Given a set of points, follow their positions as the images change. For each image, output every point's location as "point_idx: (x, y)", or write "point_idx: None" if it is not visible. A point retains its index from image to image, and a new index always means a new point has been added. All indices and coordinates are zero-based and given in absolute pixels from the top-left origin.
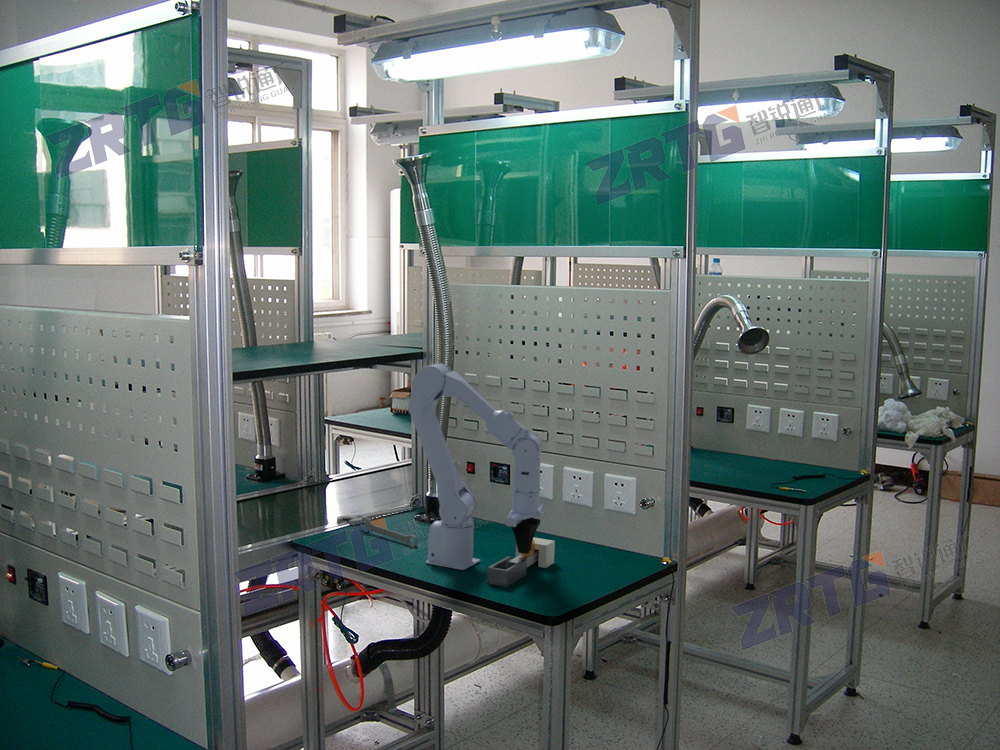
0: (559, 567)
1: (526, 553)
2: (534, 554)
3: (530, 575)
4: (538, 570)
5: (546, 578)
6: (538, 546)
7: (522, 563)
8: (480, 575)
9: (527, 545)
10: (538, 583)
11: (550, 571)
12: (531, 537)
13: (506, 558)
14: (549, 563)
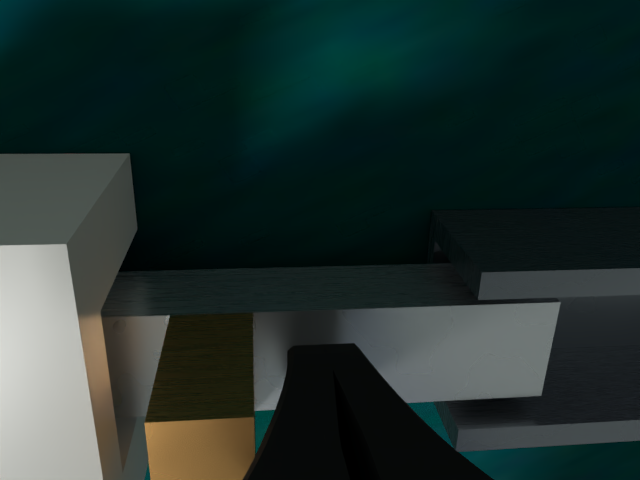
0: (9, 40)
1: (356, 348)
2: (160, 313)
3: (417, 178)
4: (241, 180)
5: (434, 12)
6: (91, 339)
7: (580, 263)
8: (576, 455)
9: (398, 397)
10: (608, 19)
11: (200, 68)
12: (343, 455)
13: (534, 431)
14: (26, 160)
